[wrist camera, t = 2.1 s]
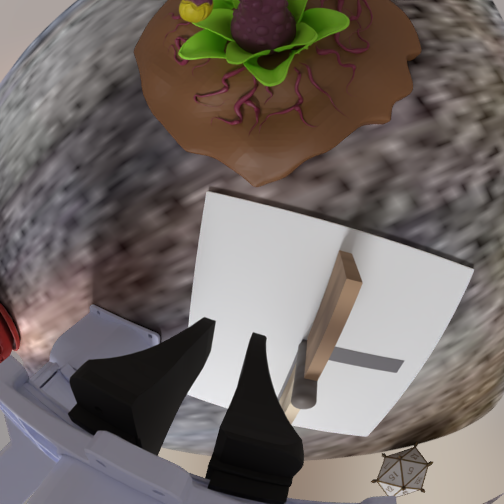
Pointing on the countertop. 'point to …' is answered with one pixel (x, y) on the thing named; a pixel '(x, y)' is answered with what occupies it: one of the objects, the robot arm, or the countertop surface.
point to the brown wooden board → (332, 314)
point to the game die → (403, 472)
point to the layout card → (307, 304)
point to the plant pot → (7, 335)
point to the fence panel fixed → (298, 388)
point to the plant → (273, 76)
